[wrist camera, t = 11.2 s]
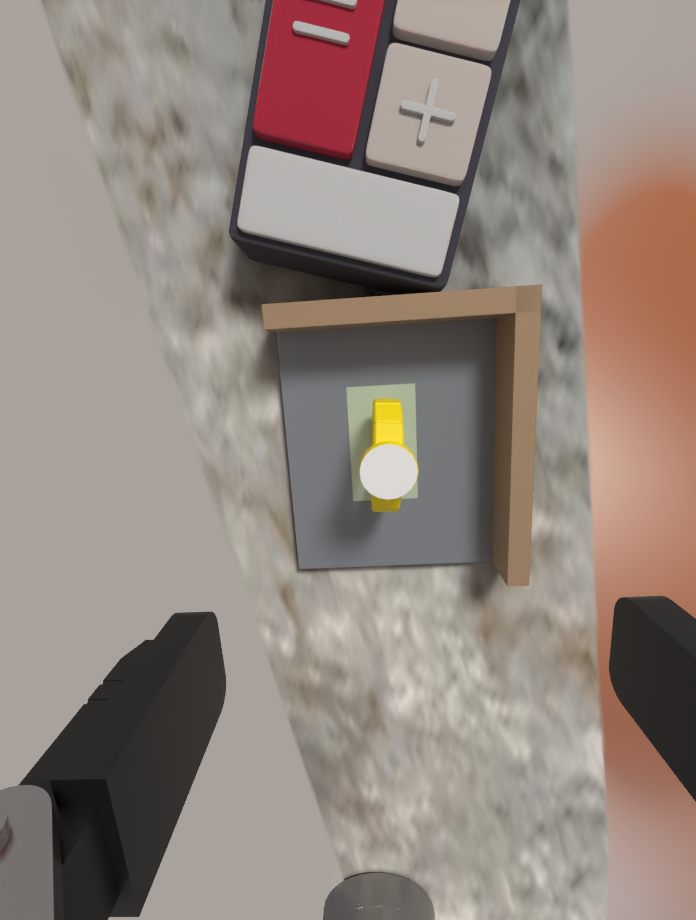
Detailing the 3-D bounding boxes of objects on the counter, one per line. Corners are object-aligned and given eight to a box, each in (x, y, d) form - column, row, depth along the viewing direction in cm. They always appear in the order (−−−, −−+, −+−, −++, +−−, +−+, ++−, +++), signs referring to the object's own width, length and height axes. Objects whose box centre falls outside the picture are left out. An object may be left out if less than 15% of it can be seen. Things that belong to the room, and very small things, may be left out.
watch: (404, 488, 26) (415, 534, 21) (359, 488, 26) (358, 533, 21) (408, 392, 24) (422, 413, 19) (360, 392, 25) (359, 412, 19)
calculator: (548, -94, 17) (449, 288, 20) (510, 0, 21) (433, 304, 24) (283, -162, 17) (221, 233, 20) (298, -54, 21) (245, 259, 24)
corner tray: (507, 556, 27) (528, 585, 24) (300, 564, 28) (291, 594, 25) (515, 295, 24) (541, 284, 20) (276, 311, 24) (261, 304, 21)
